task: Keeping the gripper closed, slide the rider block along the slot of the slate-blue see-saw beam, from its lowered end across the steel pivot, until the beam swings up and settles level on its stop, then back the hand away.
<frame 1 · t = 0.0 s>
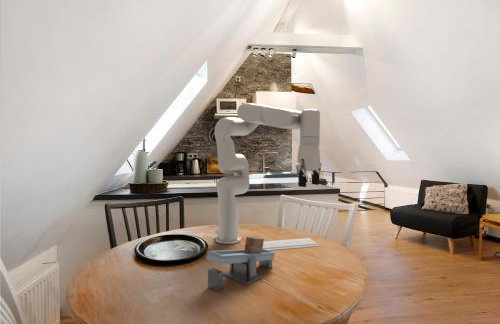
hand: (309, 185, 122), 31 cm above the table, fingers open, 9 cm apart
baseboard molding: (284, 247, 146), on the table
stand: (242, 276, 111), on the table
beam: (243, 255, 111), point 8 cm above the table, hinge at -12.1°, touching rider
rider: (252, 254, 115), point 7 cm above the table, tilted 12°, touching beam
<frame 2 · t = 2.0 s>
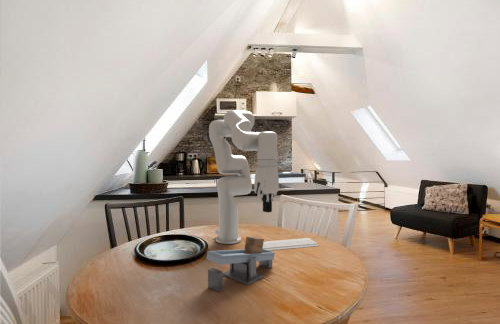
hand: (267, 211, 120), 21 cm above the table, fingers closed
nothing on the table moved.
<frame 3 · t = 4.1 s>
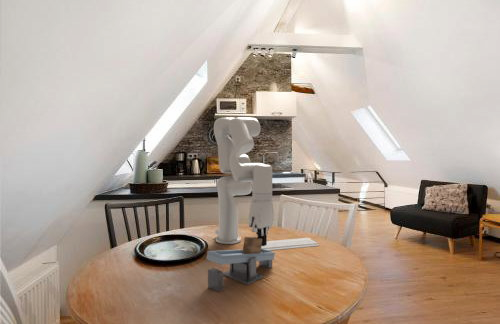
hand: (261, 245, 118), 9 cm above the table, fingers closed
beam: (243, 255, 111), point 8 cm above the table, hinge at -12.2°
rider: (251, 254, 114), point 7 cm above the table, tilted 12°, touching gripper
everything else where it was.
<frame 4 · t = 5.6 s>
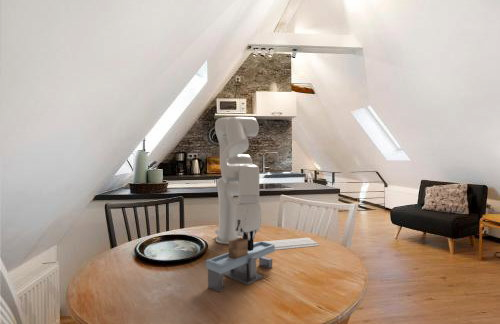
hand: (248, 249, 113), 9 cm above the table, fingers closed
beam: (242, 255, 111), point 8 cm above the table, hinge at 0.2°
rider: (238, 256, 109), point 8 cm above the table, touching gripper
everything else where it was.
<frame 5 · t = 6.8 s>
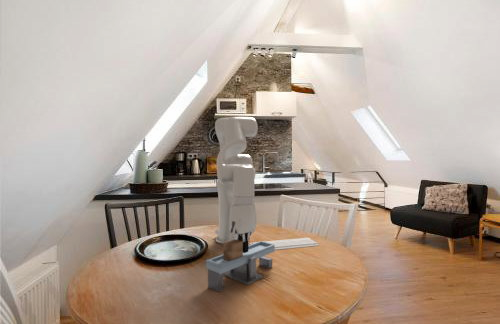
hand: (243, 251, 111), 9 cm above the table, fingers closed
rider: (233, 258, 107), point 8 cm above the table
everything else where it was.
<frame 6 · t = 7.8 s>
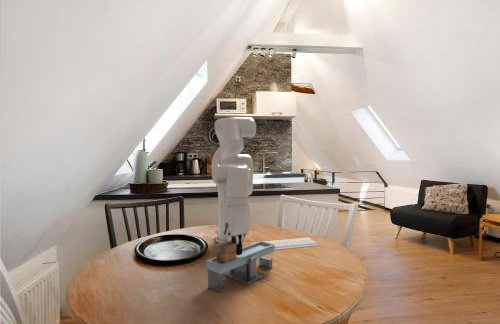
hand: (237, 253, 108), 9 cm above the table, fingers closed
beam: (242, 255, 111), point 8 cm above the table, hinge at 0.4°, touching rider
rider: (226, 261, 104), point 8 cm above the table, touching beam, gripper
everything else where it was.
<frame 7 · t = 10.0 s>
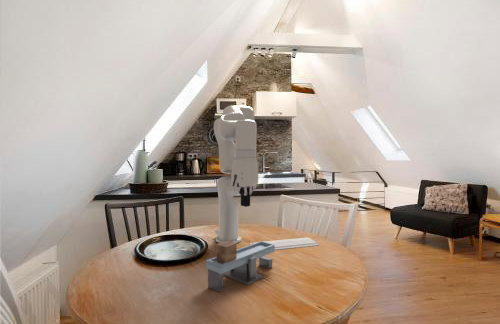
hand: (245, 205, 112), 25 cm above the table, fingers closed
rider: (226, 261, 104), point 8 cm above the table, touching beam
everything else where it was.
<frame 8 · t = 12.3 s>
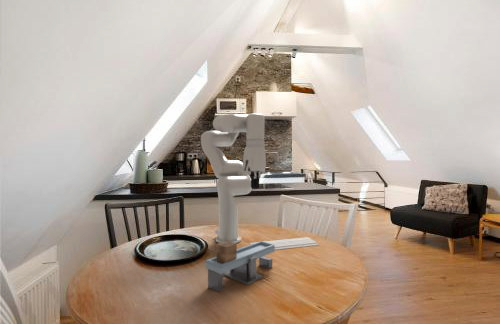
hand: (255, 187, 130), 29 cm above the table, fingers closed
nothing on the table moved.
at the end: beam at +0° (first picture: -12°); rider inside the target area on the beam (0.4 cm from its centre), point 0.8 cm above the beam's base; rider tilted 0° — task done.
